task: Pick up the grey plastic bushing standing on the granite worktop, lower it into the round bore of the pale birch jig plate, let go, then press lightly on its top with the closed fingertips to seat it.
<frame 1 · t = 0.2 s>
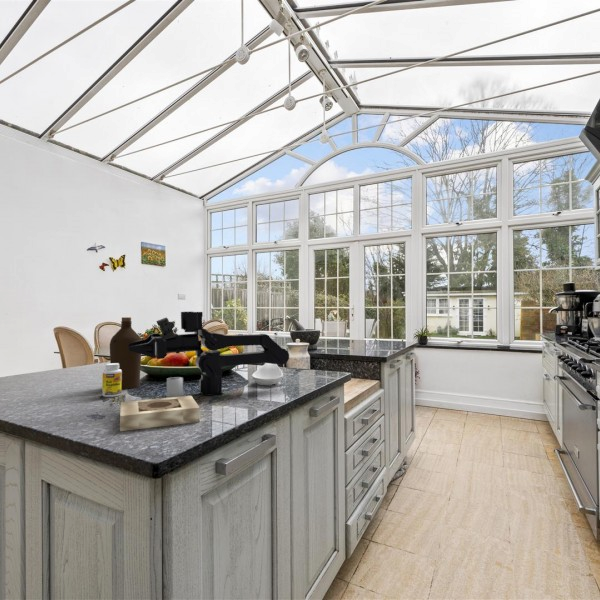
hand: (128, 347, 114), 17 cm above the table, tool horizontal, fingers open, 9 cm apart
jig plate: (159, 418, 96), on the table
supplement bottle: (111, 396, 121), on the table
spoon rest: (269, 382, 146), on the table
bushing: (174, 406, 108), on the table
olive oil: (125, 387, 134), on the table
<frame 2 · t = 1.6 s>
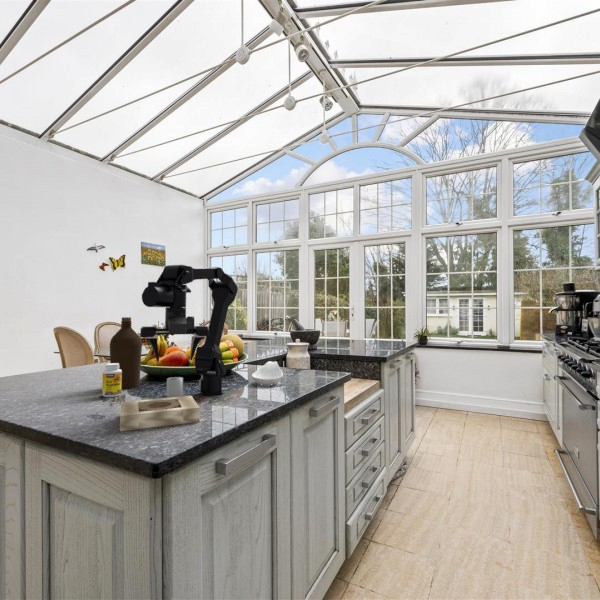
hand: (174, 361, 108), 13 cm above the table, tool pointing down, fingers open, 9 cm apart
nothing on the table moved.
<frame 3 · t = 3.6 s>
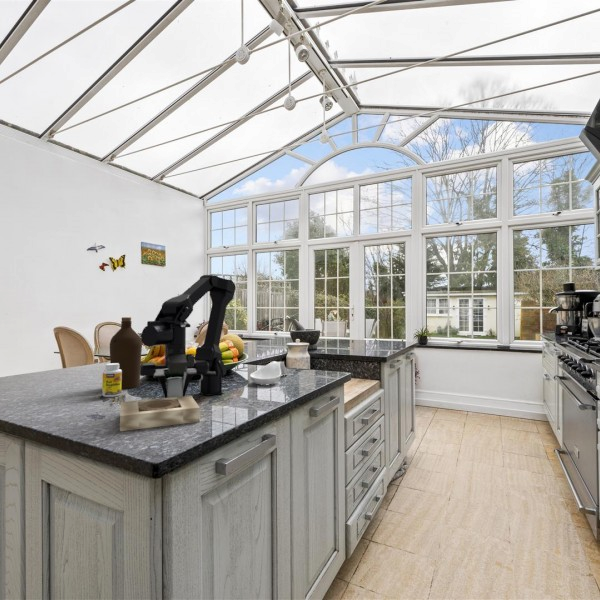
hand: (174, 397, 108), 3 cm above the table, tool pointing down, fingers closed on bushing, 4 cm apart
bushing: (174, 406, 108), on the table, touching gripper
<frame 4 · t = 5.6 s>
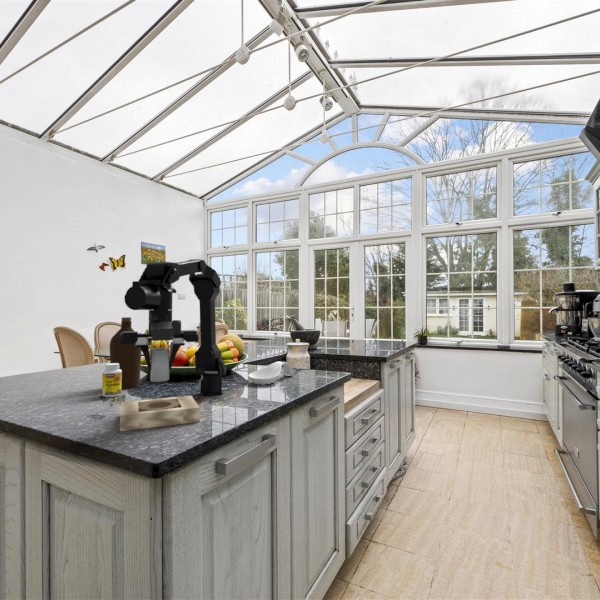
hand: (159, 370, 96), 12 cm above the table, tool pointing down, fingers closed on bushing, 4 cm apart
bushing: (159, 380, 96), point 10 cm above the table, touching gripper
when the fingers open (4 cm above the table, at t = 7.8 s): bushing drops 2 cm, resting in jig plate.
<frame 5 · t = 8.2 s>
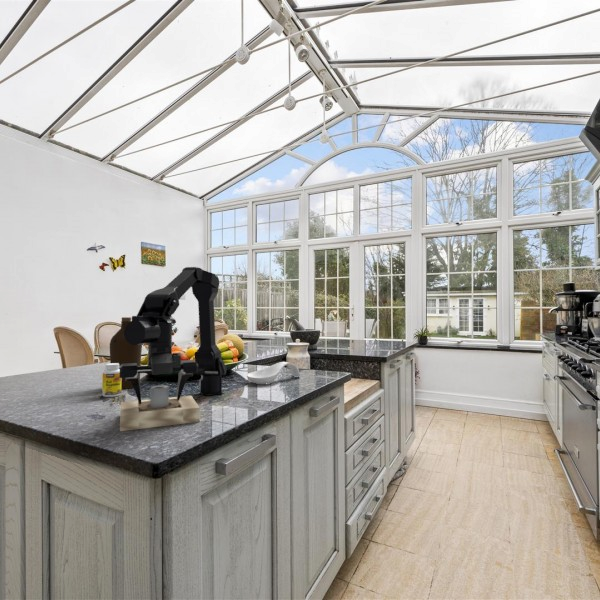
hand: (159, 402, 96), 4 cm above the table, tool pointing down, fingers open, 9 cm apart
bushing: (159, 418, 96), resting in jig plate
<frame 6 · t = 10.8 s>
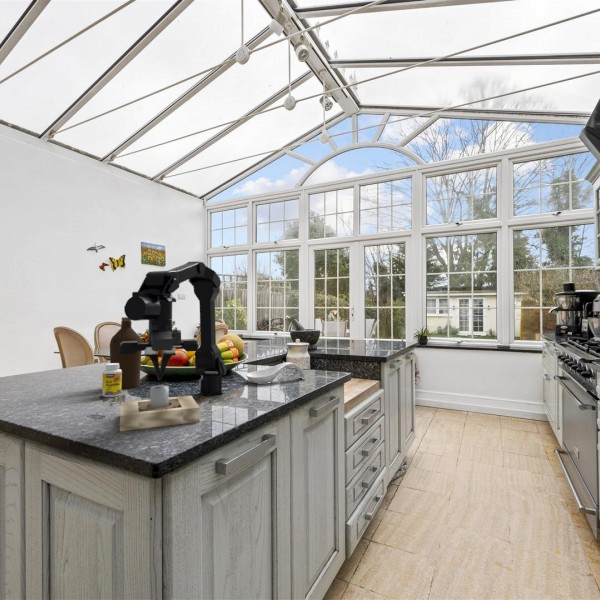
hand: (159, 379, 96), 10 cm above the table, tool pointing down, fingers closed
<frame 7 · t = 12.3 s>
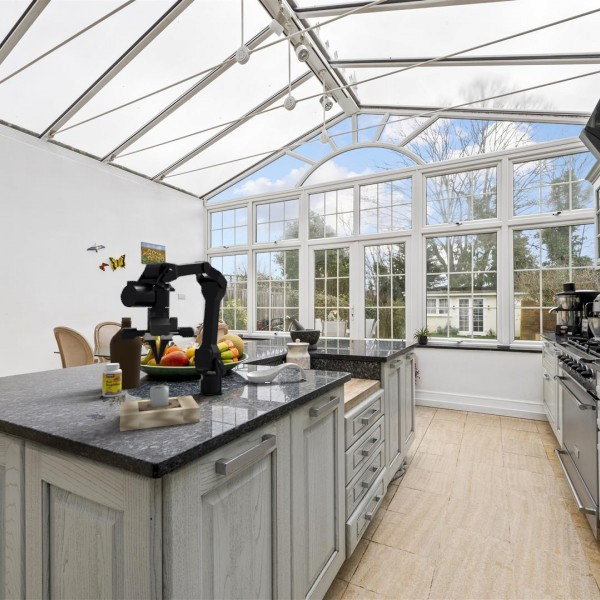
hand: (157, 364, 102), 13 cm above the table, tool pointing down, fingers closed
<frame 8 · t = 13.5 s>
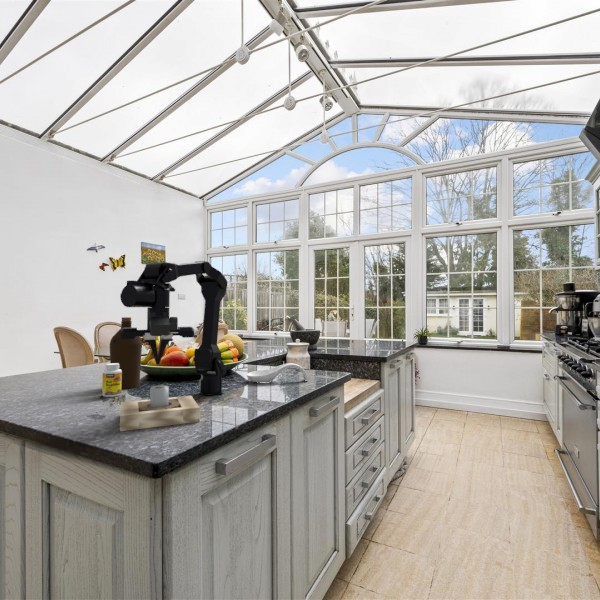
hand: (157, 364, 103), 13 cm above the table, tool pointing down, fingers closed
at the end: bushing 0.0 cm off-centre on the jig plate, point 0.0 cm above the jig plate's base; bushing tilted 0°; the gripper is holding nothing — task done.
